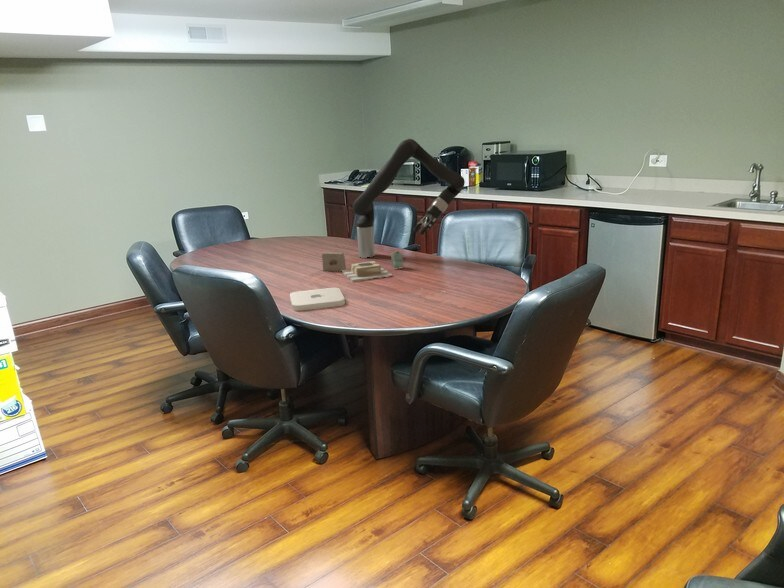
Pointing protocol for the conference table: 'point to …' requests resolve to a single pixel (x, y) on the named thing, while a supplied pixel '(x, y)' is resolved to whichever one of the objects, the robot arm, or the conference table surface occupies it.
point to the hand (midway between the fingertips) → (417, 232)
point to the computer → (316, 299)
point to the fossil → (333, 261)
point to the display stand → (365, 271)
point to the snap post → (397, 259)
